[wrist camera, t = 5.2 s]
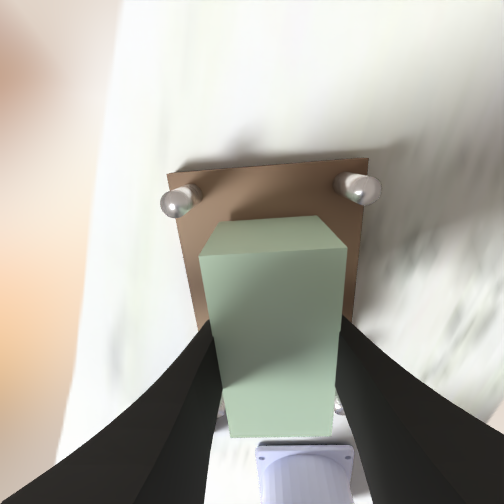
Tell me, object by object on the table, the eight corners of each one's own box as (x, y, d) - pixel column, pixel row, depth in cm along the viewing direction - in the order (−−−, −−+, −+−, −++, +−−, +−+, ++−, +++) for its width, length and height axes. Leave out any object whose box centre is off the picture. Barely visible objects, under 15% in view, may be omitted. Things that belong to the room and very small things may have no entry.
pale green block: (312, 362, 14) (331, 436, 10) (238, 364, 14) (230, 437, 11) (317, 215, 11) (347, 247, 7) (219, 221, 11) (198, 255, 7)
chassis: (340, 368, 16) (360, 420, 13) (211, 371, 17) (200, 423, 13) (359, 157, 11) (400, 158, 8) (173, 172, 12) (140, 178, 8)
